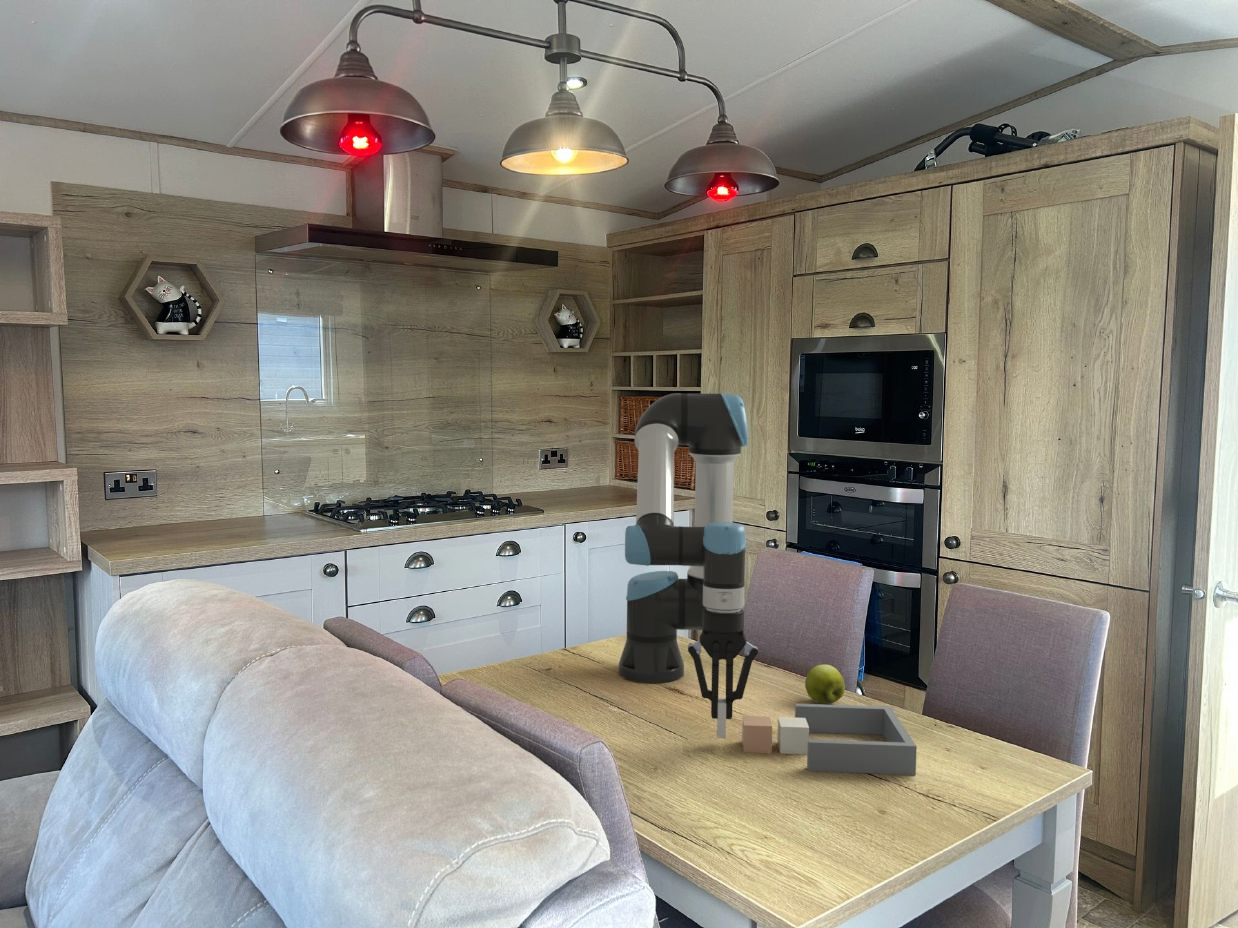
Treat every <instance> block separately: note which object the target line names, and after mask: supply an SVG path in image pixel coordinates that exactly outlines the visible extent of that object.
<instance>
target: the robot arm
mask: <svg viewBox="0 0 1238 928" xmlns="http://www.w3.org/2000/svg"><path fill="white" fill-rule="evenodd" d="M748 432H749V431H748V422H747V414H746V408H745V404H744V401H743V399H742V397H741V396H740V395H737V394H731V393H722V392H720V393H718V392H717V393H681V392H680V393H679V392H678V393H677V392H676V393H670V394H666V395H664V396H661V397H659V398H658V399H657V400H655V401H654V402H653V403H651V404H650V405H649V406H648V407H647V408H646V409H645V411H644V412H643V413H642V415H641V416H640V417H639V419H638V422H637V424H636V427H635V430H634V446H635V448H636V449H637V451H638V462H637V463H638V464H637V467H638V468H637V485H636V486H637V488H636V489H637V490H636V491H637V492H636V515H635V516H636V517H635V524H634V525H628V526H627V527H626V528H625V533H624V534H625V535H624V559H625V562H626V563H628V564H629V565H636V566H645V567H646V566H647V567H648V566H682V567H685V566H686V567H688V566H689V567H690V568H689V569H688V570H687V572H686V574H687V575H686V577H687V578H679V575H678V573H677V572H675V571H672V570H669V571H667V570H658V571H649V572H644V573H640V574H637V575H634V576H633V577H631V578H630V579H629V581H628V582H627V587H626V589H627V590H626V597H625V600H626V640H625V644H624V647H623V650H622V652H621V655H620V659H619V663H618V675H619V676H621V677H622V678H624V679H626V680H629V681H632V682H637V683H638V682H640V683H647V684H650V683H652V684H653V683H654V684H655V683H667V682H673V681H677V680H679V679H681V678H682V677H683V676H684V674H685V663H684V660H683V656H682V654H681V650H680V648H679V644H678V637H677V635H678V630H680V631H686V630H687V631H701V633H700V635H699V639H698V640H697V641H695V642H693V643H689V644H688V645H687V651H688V653H689V655H690V657H691V658H692V660H693V663H694V667H695V672H696V676H697V680H698V685H699V689H700V690H699V691H700V694H701V697H702V698H703V699H707V700H709V701H710V703H711V704H710V705H711V706H710V715H711V716H710V717H711V718H712V720H713V719H714V720H715V719H717V720H716V721H717V723H716V735H717V736H716V737H717V739H726V738H727V737H726V735H727V734H726V733H727V720H732V718H733V704H734V702H735V701H737V700H739V701H740V700H742V699H743V698H744V697H743V696H744V693H745V690H746V686H747V683H748V678H749V675H750V672H751V667H752V663H753V661H754V660H755V658H756V656H757V655H758V654H759V649H758V646H757V645H754V644H751V643H750V642H748V641H747V637H746V635H745V611H744V609H743V608H744V607H745V593H746V592H745V587H746V585H745V571H746V570H745V569H746V547H747V541H746V540H747V539H746V528H745V526H744V525H742V524H741V523H737V522H733V518H734V475H735V473H734V472H735V461H736V460H737V458H739V457H740V456H741V454H742V448H743V447H747V446H748V444H749V437H748V436H749V433H748ZM678 446H688V448H689V449H688V454H689V455H690V457H692V458H693V459H694V461H695V483H694V484H695V485H694V486H695V487H694V488H695V492H694V494H695V495H694V499H695V500H694V526H682V525H681V526H676V525H675V495H674V494H675V465H674V464H675V460H674V459H675V452H676V450H677V448H678ZM702 648H703V649H704V651H705V652H706V653H707V655H708V656H709V657H710V658H711V690H710V689H708V683H707V679H706V676H705V672H704V666H703V663H702V662H703V661H702V658H701V653H702ZM743 649H744V651H743V653H744V658H743V663H742V665H741V670H740V673H739V677H738V681H737V685H736V689H735V690H734V660H735V658H737V656H738V655H739V654H740V653H741V651H742V650H743ZM721 660H725V698H723V697H722V698H721V697H719V682H720V681H719V680H720V679H719V678H720V677H719V675H720V661H721Z"/></svg>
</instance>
